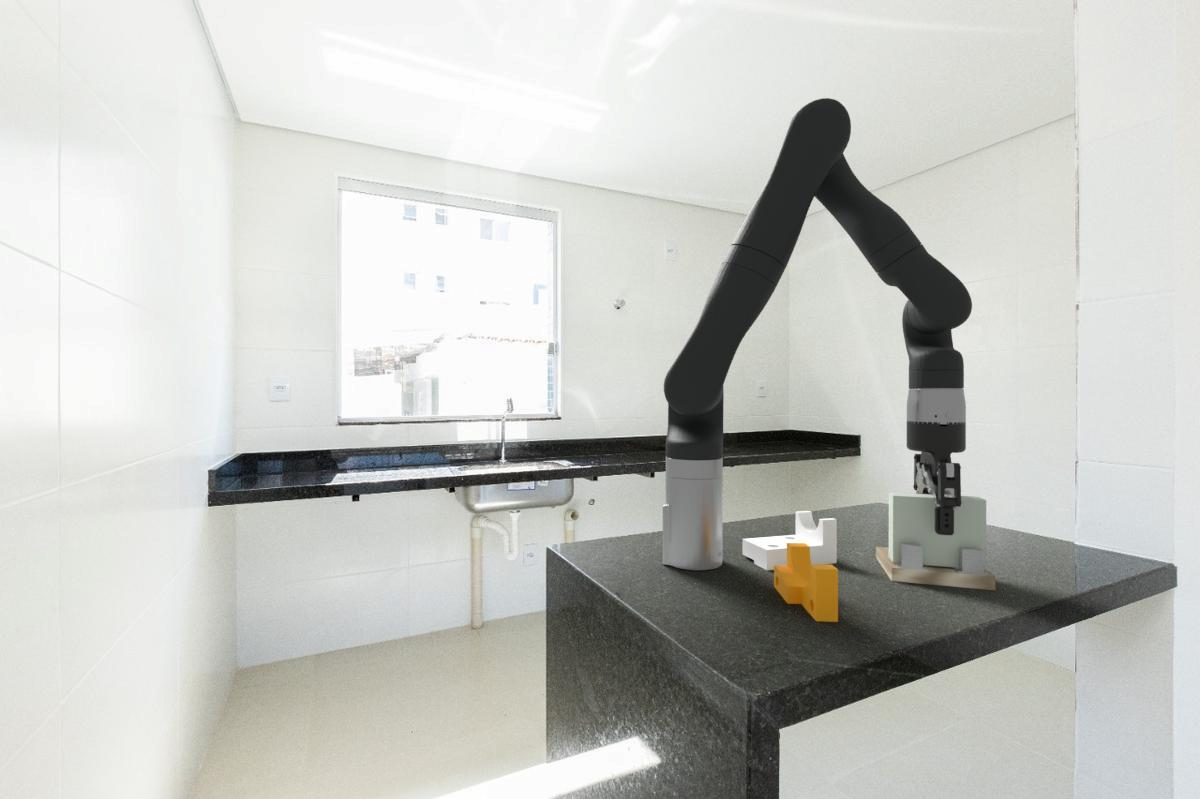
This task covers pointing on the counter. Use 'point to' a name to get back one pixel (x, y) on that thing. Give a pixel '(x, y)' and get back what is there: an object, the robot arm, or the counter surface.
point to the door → (917, 526)
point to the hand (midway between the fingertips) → (935, 527)
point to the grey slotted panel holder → (968, 565)
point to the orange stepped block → (808, 583)
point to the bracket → (817, 538)
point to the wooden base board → (933, 574)
